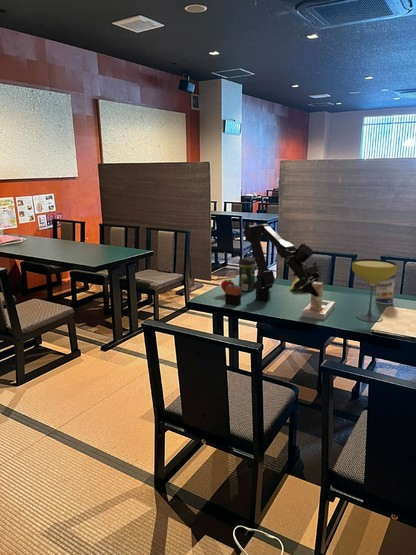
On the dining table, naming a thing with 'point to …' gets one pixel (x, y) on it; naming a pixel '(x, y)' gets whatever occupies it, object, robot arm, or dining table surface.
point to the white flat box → (319, 314)
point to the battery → (233, 295)
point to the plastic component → (294, 283)
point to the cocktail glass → (373, 278)
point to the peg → (317, 301)
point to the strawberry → (226, 284)
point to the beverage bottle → (385, 290)
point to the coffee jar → (247, 273)
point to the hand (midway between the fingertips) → (319, 295)
